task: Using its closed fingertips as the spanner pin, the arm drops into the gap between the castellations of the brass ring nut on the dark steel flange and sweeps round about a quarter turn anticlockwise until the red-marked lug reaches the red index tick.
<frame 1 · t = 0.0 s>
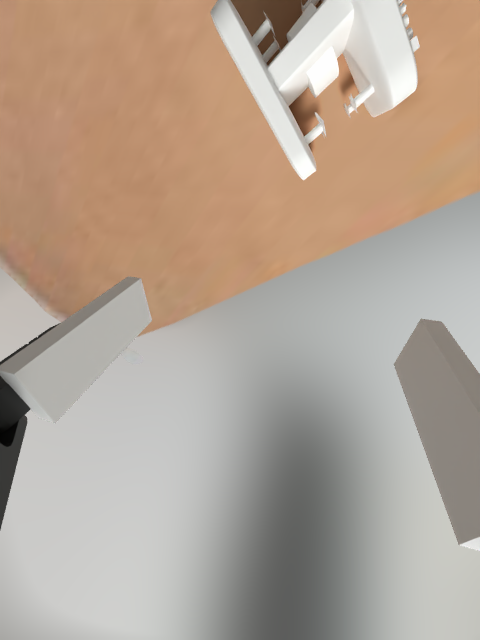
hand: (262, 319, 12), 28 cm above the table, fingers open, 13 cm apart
cable organizer: (313, 75, 26), on the table
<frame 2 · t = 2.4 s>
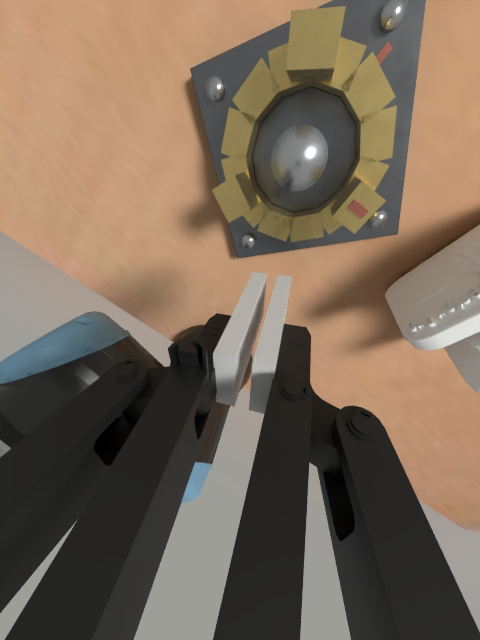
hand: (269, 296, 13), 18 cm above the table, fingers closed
cable organizer: (469, 270, 27), on the table
ring nut: (298, 158, 20), point 5 cm above the table, hinge at 0.0°
flange: (302, 157, 24), on the table
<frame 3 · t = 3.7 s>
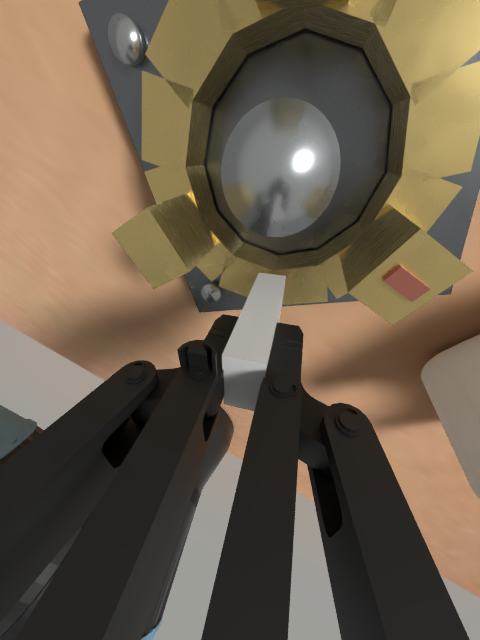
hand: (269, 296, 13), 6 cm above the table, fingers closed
ring nut: (280, 171, 10), point 5 cm above the table, hinge at 0.0°
flange: (291, 166, 14), on the table
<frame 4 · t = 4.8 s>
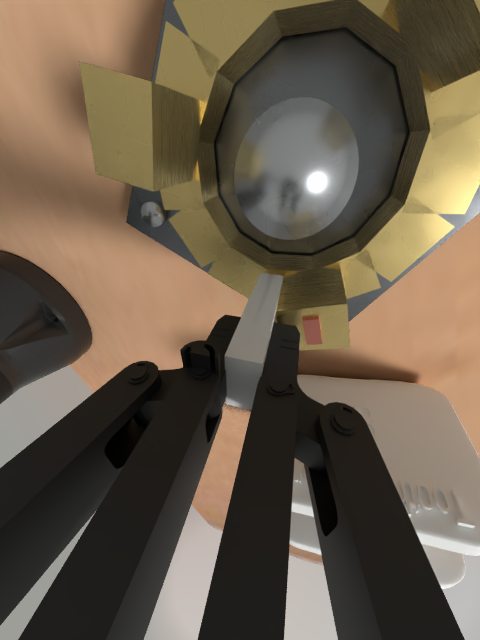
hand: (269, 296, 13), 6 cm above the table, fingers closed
cable organizer: (344, 401, 25), on the table
ring nut: (295, 171, 10), point 5 cm above the table, hinge at 0.8°, touching gripper
flange: (301, 166, 14), on the table
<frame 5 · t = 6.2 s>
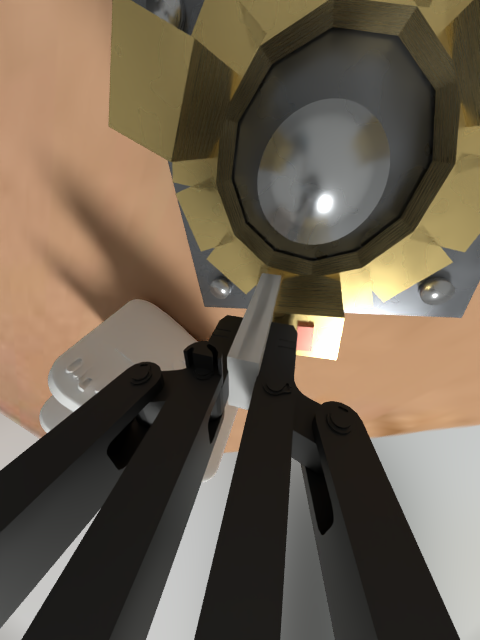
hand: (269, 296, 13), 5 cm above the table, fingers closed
cable organizer: (179, 353, 28), on the table
ring nut: (319, 174, 10), point 5 cm above the table, hinge at 43.0°, touching gripper
flange: (320, 168, 14), on the table
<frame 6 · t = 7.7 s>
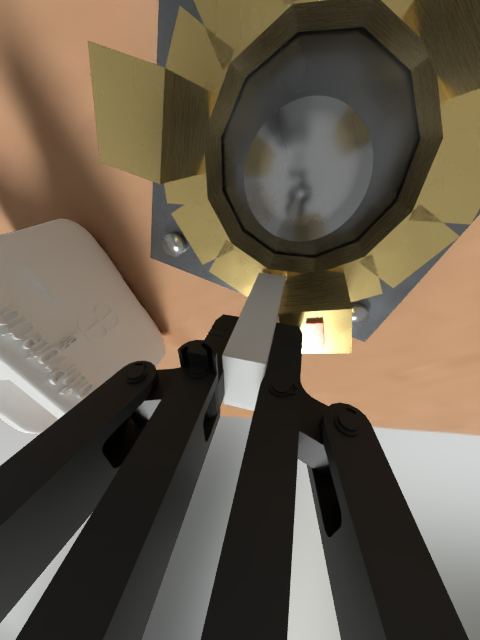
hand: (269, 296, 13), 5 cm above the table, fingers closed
cable organizer: (106, 298, 25), on the table
ring nut: (305, 172, 10), point 5 cm above the table, hinge at 75.4°, touching gripper
flange: (308, 166, 14), on the table
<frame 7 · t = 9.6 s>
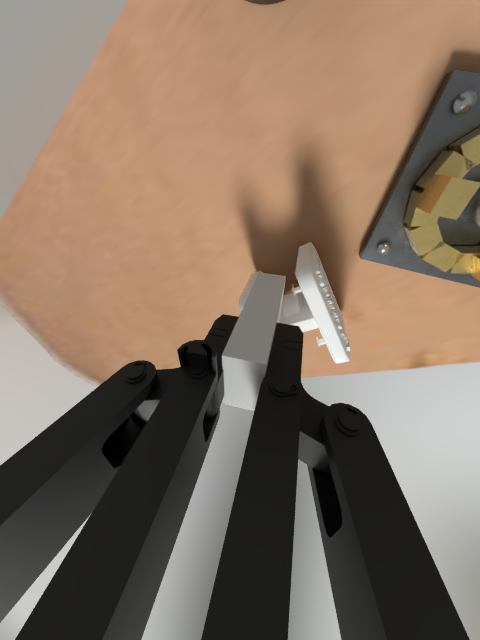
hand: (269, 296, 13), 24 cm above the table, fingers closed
cable organizer: (299, 291, 39), on the table
flange: (475, 198, 27), on the table
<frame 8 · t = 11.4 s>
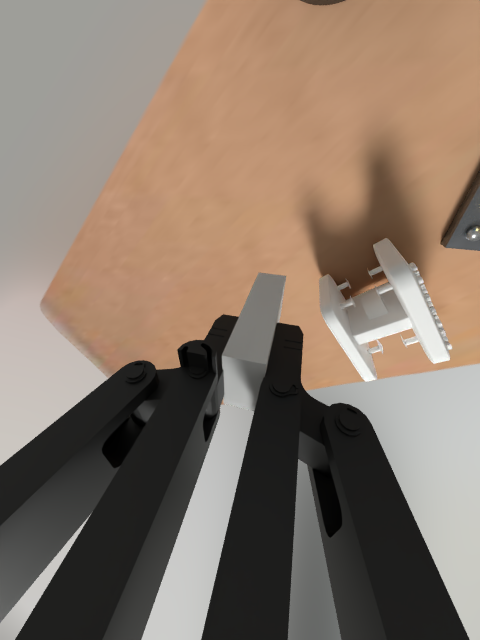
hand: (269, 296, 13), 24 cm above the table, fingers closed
cable organizer: (369, 290, 37), on the table
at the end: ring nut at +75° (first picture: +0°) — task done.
